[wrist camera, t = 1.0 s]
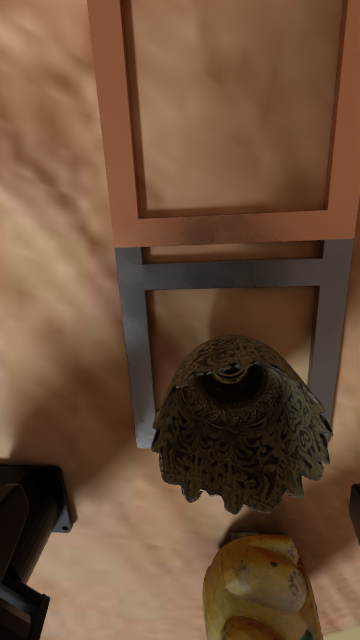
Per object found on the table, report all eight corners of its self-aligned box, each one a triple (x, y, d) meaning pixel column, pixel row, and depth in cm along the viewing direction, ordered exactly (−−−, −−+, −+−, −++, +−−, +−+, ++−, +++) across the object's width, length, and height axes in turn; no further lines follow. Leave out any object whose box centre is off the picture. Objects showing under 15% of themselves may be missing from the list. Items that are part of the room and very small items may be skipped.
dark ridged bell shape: (308, 329, 20) (371, 407, 12) (260, 424, 22) (287, 536, 15) (193, 290, 19) (182, 343, 12) (157, 389, 22) (130, 485, 14)
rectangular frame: (324, 446, 22) (326, 452, 22) (138, 442, 23) (137, 448, 23) (389, -85, 13) (397, -98, 13) (85, -46, 15) (80, -56, 14)
